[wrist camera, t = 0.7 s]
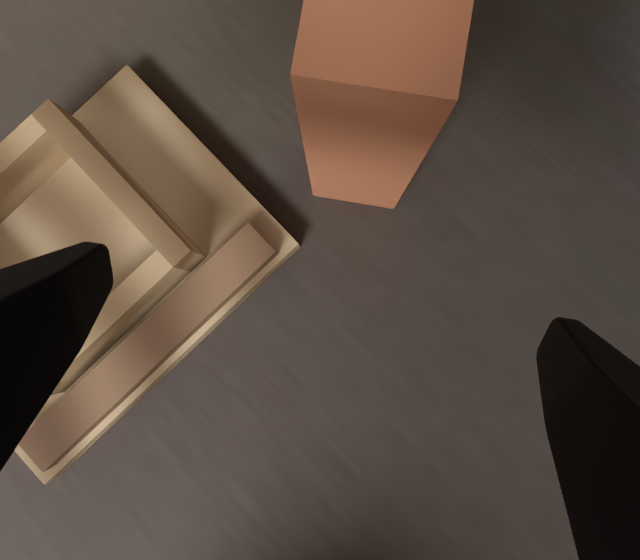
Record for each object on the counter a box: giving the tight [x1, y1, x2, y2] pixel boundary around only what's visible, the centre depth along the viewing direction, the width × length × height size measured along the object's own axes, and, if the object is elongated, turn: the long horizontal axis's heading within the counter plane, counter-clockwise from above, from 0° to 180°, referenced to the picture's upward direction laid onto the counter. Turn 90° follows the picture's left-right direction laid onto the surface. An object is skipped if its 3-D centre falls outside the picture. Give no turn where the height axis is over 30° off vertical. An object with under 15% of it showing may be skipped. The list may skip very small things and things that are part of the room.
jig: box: [0, 65, 300, 485], centre depth 21 cm, size 16×12×4 cm
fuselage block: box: [290, 0, 474, 209], centre depth 17 cm, size 4×4×12 cm
